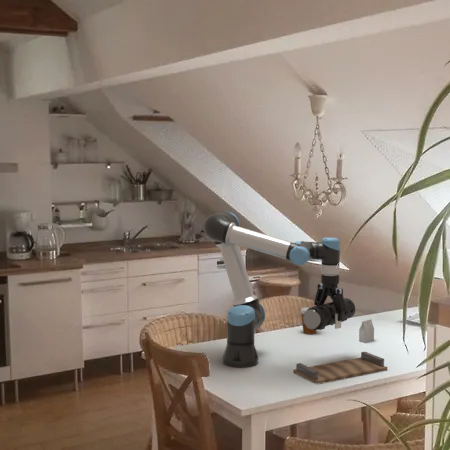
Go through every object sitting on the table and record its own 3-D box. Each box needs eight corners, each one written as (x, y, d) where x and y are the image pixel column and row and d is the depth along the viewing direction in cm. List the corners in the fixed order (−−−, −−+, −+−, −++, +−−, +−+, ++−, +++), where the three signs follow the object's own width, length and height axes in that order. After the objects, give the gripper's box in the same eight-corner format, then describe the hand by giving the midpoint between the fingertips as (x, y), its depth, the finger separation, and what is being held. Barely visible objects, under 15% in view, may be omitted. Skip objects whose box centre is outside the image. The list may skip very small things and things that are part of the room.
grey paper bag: (373, 340, 328) (374, 320, 327) (365, 343, 323) (366, 322, 322) (367, 338, 331) (368, 318, 330) (359, 341, 326) (359, 320, 325)
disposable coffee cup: (297, 334, 339) (298, 310, 337) (302, 329, 347) (303, 306, 346) (316, 336, 335) (317, 311, 334) (321, 331, 344) (321, 307, 343)
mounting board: (317, 384, 266) (317, 373, 265) (293, 372, 280) (293, 362, 279) (387, 370, 283) (387, 360, 283) (361, 359, 297) (361, 350, 297)
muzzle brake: (355, 322, 300) (356, 299, 299) (320, 334, 279) (320, 310, 278) (337, 318, 306) (337, 295, 305) (301, 330, 285) (301, 306, 284)
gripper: (355, 277, 282) (354, 330, 285) (319, 269, 302) (318, 318, 304) (341, 279, 278) (340, 332, 281) (306, 270, 298) (305, 320, 300)
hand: (329, 325), depth 293 cm, fingers closed on muzzle brake, 11 cm apart
